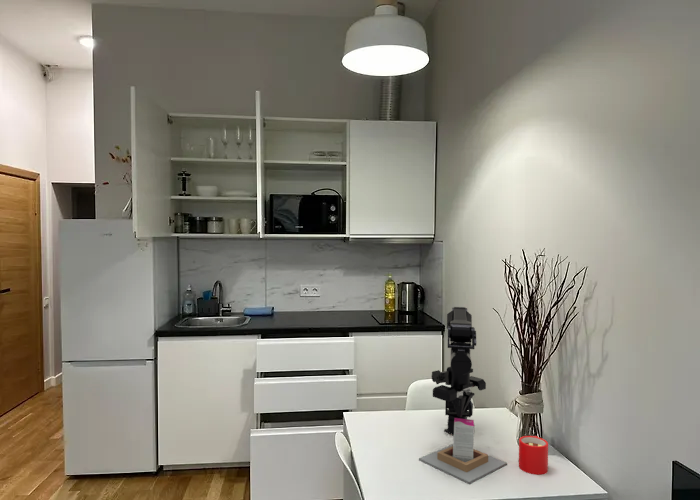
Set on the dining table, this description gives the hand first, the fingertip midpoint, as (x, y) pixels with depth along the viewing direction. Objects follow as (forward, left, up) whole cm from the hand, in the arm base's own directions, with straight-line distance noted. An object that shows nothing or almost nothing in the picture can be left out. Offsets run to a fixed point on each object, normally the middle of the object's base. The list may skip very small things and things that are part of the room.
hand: (459, 416), depth 145 cm
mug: (-14, +16, -13) cm, 25 cm away
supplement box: (+1, +2, -12) cm, 13 cm away
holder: (+1, +2, -13) cm, 13 cm away
